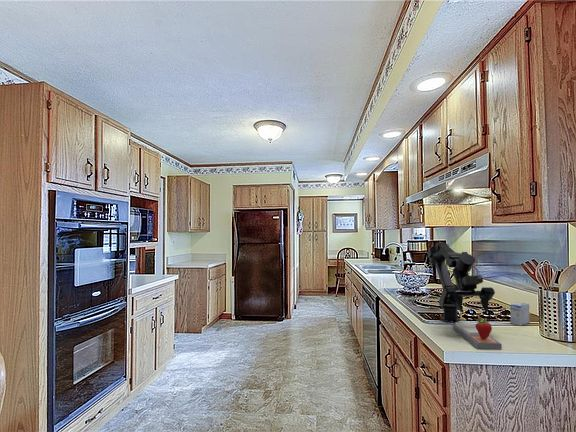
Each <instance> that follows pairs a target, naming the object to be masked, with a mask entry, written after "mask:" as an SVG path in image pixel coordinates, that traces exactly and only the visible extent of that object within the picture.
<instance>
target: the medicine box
mask: <svg viewBox="0 0 576 432" xmlns="http://www.w3.org/2000/svg"><path fill="white" fill-rule="evenodd" d="M509 307H510V324H511V323H512V325H515V326H523V325H526V324H529V323H530V304H529V303H527V302H521V301H518V302H517V301H516V302H515V303H511V304H510V305H509Z"/></svg>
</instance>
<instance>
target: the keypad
mask: <svg viewBox="0 0 576 432" xmlns="http://www.w3.org/2000/svg"><path fill="white" fill-rule="evenodd" d="M452 330H453V332H456V333H457V334H458V335H459V336H460V337H461V338H463V339H464V340H465V341H466V342H467V343H469V344H470V345H471V344H472V345H471V346H473V347H474V348H475V349H477V350H502V348H503V347H502V343H501V342H499V341H498V340H497V339H494V337H492V336H490V335H489V336H488V337H490V338H491V339H493V340H494V341H496V342H497V343H478V342H476V341H475V340H474V339H473V338H471V336H473V337H480V335H479V332H478V331H477V329H476V324H475V323H473V322H466V321H465V322H461V321H460V322H459V321H457V322H455V324H453V325H452Z"/></svg>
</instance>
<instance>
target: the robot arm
mask: <svg viewBox="0 0 576 432" xmlns="http://www.w3.org/2000/svg"><path fill="white" fill-rule="evenodd" d="M427 258H428V259H429V261H430V263H431V264H432V265H434V266H435V269H436V272H437V275H438V277H439V281H440V284H441V287H442V291H441V293H440V294H441V295H440V298H439V300H438V305H439V306H440V307H441V308H443V317H441V318H440V321H445V322H451V323H456V322H459V321H460V320H461V318H458V311H459V312H460V313H462V314H463V313H464V309H463V301H464V297H478V298H479V299H480V304H481V305H482V308H483V311H484V312H485V313H486V314H488V312H489V301H491V300H492V299H493V297H494V296H495V294H496V291H495V289H494V288H493V287H487V286H486V287H484V286H483V287H481V289H480V290H476V289H478V286H477V285H480V284H482V283H484V278H483V276H482V274H476V275H470V274H469V272H471V271H472V268H473V267H474V264H475V263H476V258H475V257H474V256H473V255H472V254H469V253H468V252H467V251H462V252H456V251H455V250H454V249H452V248H451V247H450V246H449V244H448V243H446V242H437V243H435V245H433V246H431V247H430V248H429V249H428V250H427ZM447 266H448V267H449V268H453V269H452V277H454V279H455V283H456V284H455V285H454V284H453V281H452V278H451V276H450V272H449V270H448V267H447Z"/></svg>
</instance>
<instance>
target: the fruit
mask: <svg viewBox="0 0 576 432" xmlns="http://www.w3.org/2000/svg"><path fill="white" fill-rule="evenodd" d="M490 322H491V320H487V318H484V319H483V318H482V317H481V318H480V319H478V320H477V322H476V323H475V325H476V329H477V331H478V332H479V335H480V338H481V339H487V338H488V336H490V334H491V332H492V330H493V327H492V324H491V323H490Z"/></svg>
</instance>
